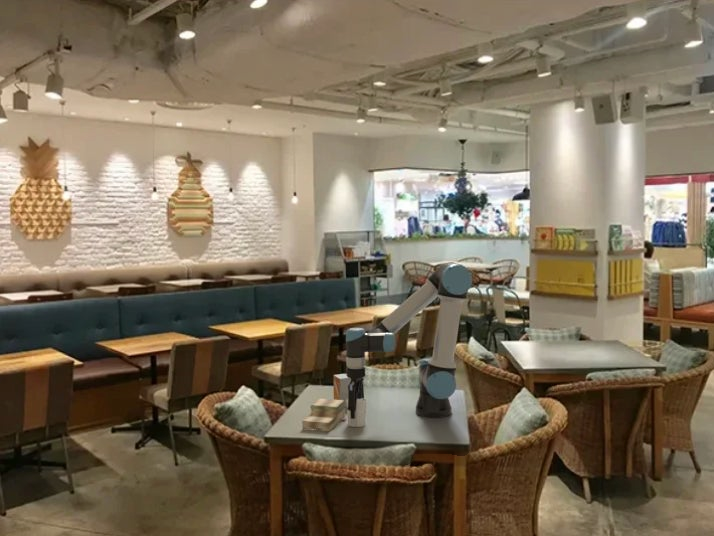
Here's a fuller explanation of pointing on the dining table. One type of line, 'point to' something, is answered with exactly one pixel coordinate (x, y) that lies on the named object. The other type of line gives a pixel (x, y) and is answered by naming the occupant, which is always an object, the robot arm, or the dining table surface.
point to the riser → (324, 414)
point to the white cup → (358, 412)
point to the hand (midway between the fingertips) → (356, 422)
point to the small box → (341, 387)
